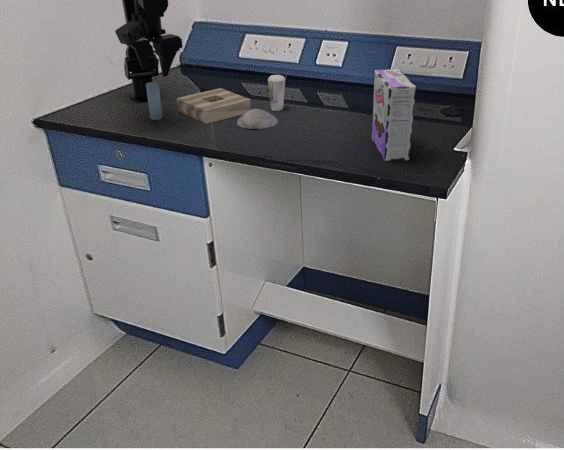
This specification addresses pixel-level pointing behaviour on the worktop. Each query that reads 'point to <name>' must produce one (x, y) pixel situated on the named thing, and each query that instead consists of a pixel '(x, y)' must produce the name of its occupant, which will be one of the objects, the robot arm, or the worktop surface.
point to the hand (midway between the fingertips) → (154, 72)
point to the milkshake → (276, 91)
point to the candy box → (392, 114)
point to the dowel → (154, 100)
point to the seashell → (257, 119)
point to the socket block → (213, 105)
